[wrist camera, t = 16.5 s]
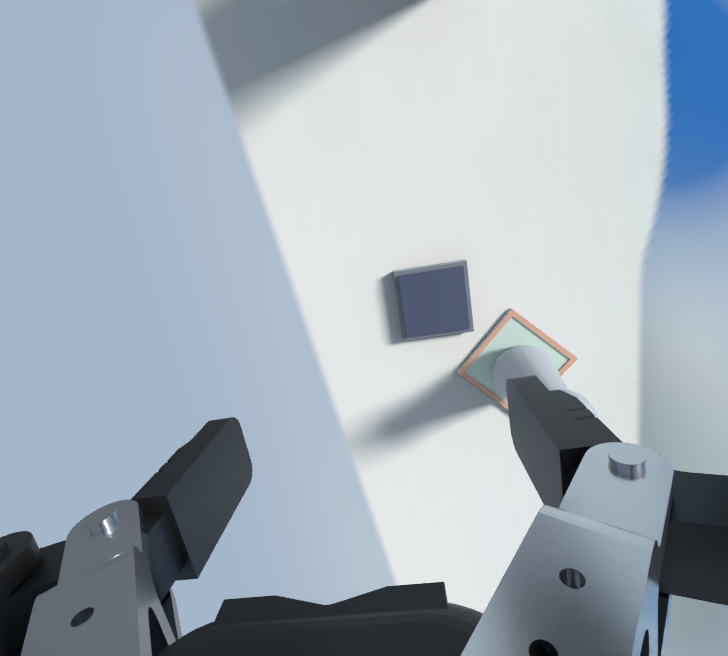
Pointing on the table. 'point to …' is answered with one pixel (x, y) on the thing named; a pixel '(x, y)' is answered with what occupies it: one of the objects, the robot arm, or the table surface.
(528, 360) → the salt shaker
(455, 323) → the ink pad
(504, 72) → the table surface
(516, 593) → the robot arm
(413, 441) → the table surface
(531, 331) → the marked square
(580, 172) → the table surface
